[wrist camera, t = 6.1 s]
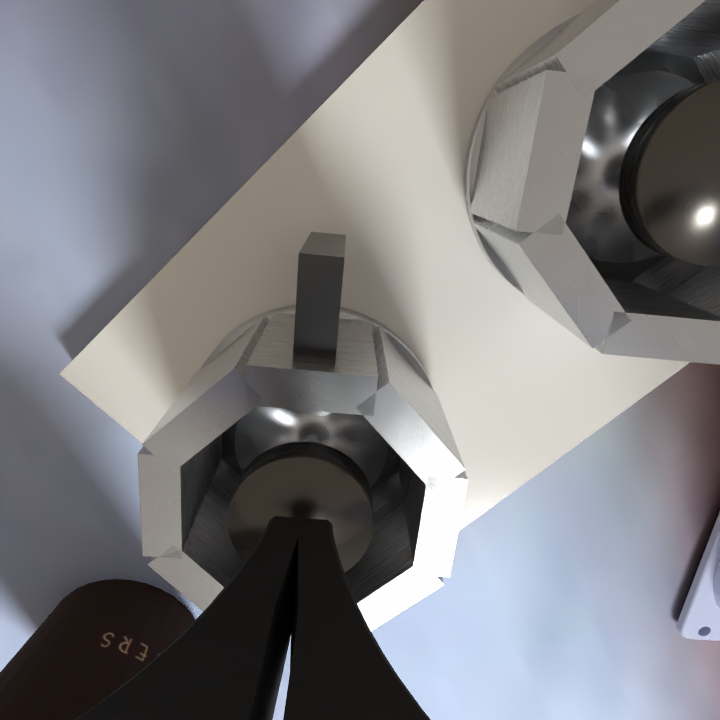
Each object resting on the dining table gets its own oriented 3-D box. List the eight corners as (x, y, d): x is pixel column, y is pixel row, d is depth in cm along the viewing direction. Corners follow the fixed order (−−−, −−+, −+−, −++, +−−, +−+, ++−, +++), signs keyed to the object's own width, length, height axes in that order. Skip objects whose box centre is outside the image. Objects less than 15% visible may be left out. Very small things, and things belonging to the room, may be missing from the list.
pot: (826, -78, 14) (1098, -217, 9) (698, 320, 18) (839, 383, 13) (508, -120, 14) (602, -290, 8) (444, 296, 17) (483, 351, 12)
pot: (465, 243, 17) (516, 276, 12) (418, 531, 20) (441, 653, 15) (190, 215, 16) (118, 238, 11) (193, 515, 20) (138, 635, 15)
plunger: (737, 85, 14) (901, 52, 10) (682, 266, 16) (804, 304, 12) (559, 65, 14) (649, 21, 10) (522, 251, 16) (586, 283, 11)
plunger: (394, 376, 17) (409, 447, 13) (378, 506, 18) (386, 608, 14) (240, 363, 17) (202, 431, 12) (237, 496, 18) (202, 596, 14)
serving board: (600, -175, 14) (617, -200, 13) (837, 230, 18) (865, 234, 17) (73, 363, 19) (59, 373, 18) (346, 594, 22) (346, 613, 22)
